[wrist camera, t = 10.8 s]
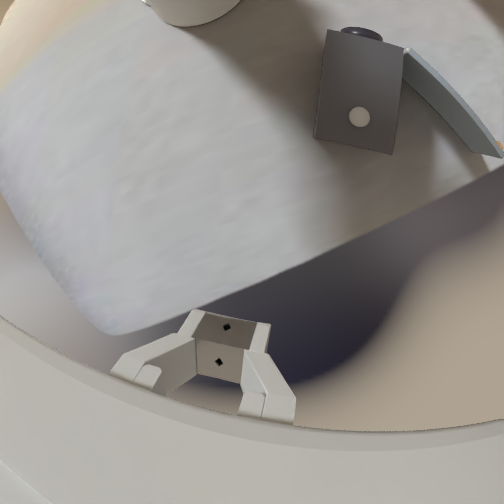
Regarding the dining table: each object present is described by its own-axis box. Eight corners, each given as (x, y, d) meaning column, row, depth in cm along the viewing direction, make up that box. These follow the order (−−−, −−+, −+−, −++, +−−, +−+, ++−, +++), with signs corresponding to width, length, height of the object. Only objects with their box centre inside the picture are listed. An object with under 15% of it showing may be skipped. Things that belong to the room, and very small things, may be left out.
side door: (386, 65, 27) (404, 50, 20) (392, 57, 26) (411, 41, 19) (472, 152, 28) (502, 158, 21) (477, 144, 27) (507, 149, 21)
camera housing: (324, 40, 27) (328, 14, 20) (385, 53, 26) (405, 34, 19) (313, 137, 33) (314, 138, 25) (374, 150, 32) (393, 155, 24)
